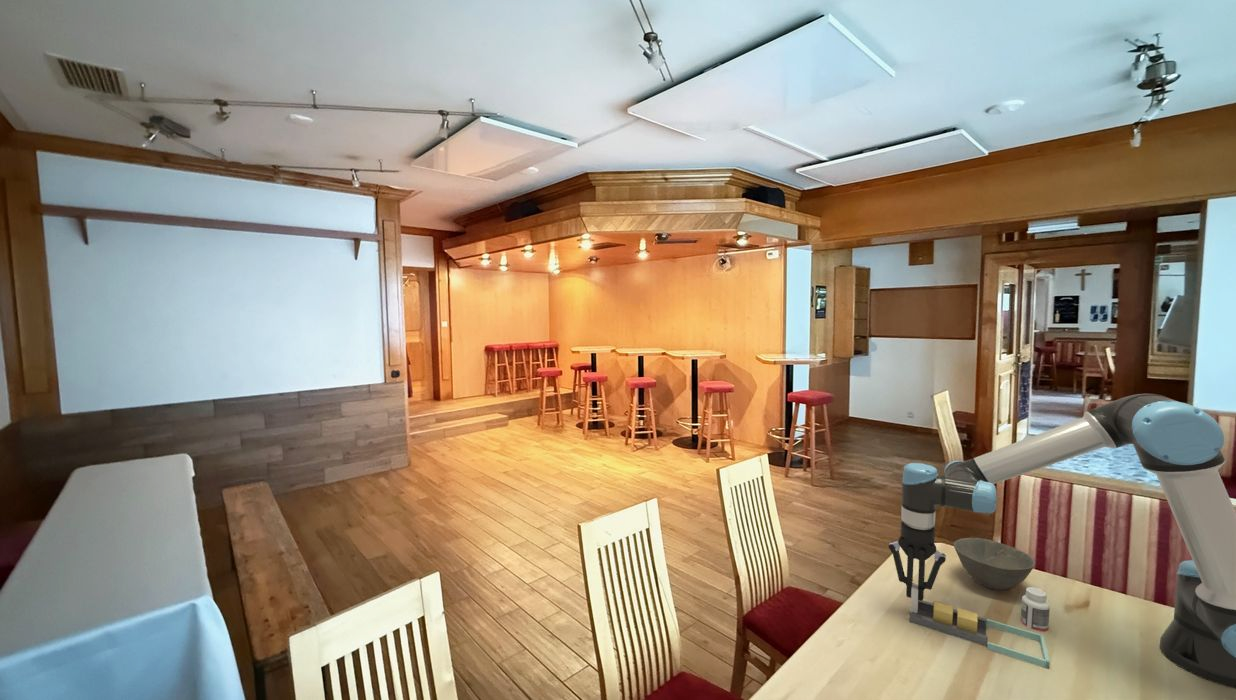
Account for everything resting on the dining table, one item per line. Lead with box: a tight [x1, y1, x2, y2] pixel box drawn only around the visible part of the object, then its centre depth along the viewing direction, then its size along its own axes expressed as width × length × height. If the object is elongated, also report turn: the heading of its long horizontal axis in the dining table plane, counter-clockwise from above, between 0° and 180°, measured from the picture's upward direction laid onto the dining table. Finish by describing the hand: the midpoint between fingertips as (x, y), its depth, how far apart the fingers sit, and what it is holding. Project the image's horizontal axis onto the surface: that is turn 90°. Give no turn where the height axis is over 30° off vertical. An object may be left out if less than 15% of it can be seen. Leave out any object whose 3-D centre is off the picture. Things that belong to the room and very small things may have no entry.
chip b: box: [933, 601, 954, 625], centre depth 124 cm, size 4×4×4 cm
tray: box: [985, 618, 1051, 670], centre depth 116 cm, size 11×11×2 cm
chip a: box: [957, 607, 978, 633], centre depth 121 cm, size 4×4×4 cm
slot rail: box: [908, 600, 989, 647], centre depth 124 cm, size 16×9×3 cm, turn 54°
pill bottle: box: [1020, 586, 1051, 632], centre depth 123 cm, size 5×5×10 cm
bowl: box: [953, 537, 1036, 591], centre depth 142 cm, size 19×19×10 cm
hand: (914, 609), depth 128 cm, fingers closed
